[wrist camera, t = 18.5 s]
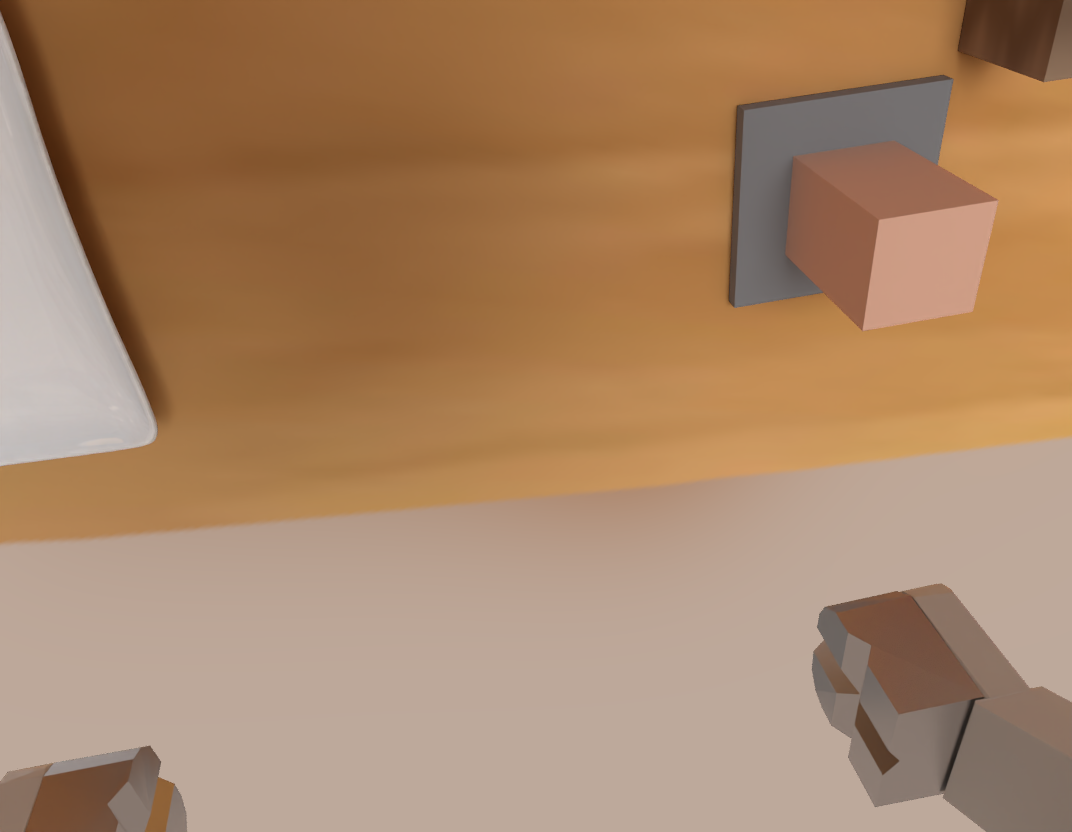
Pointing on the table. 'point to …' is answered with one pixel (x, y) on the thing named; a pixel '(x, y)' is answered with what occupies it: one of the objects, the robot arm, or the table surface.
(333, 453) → the table surface
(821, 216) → the pink block
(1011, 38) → the walnut screen
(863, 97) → the charcoal mat
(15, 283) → the salad plate
